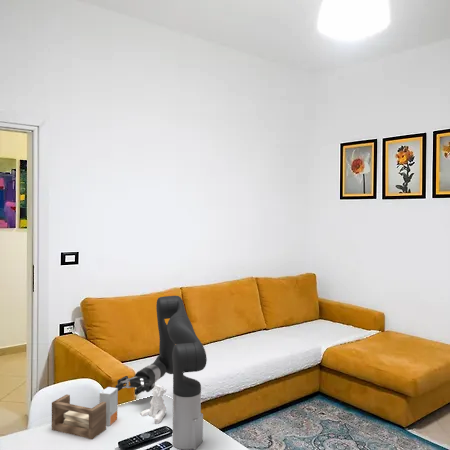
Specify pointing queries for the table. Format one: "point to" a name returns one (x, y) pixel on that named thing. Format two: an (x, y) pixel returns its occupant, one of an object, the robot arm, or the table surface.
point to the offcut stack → (76, 419)
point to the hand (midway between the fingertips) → (125, 390)
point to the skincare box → (110, 404)
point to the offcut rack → (95, 414)
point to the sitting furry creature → (156, 405)
